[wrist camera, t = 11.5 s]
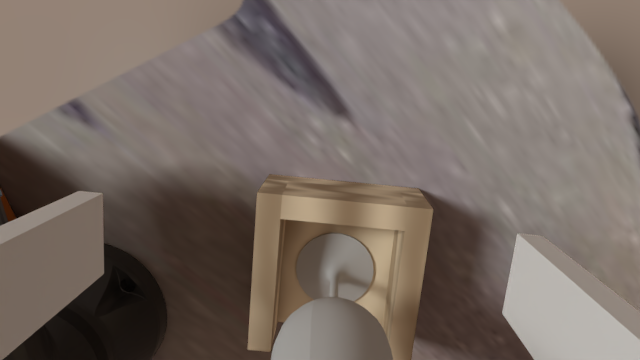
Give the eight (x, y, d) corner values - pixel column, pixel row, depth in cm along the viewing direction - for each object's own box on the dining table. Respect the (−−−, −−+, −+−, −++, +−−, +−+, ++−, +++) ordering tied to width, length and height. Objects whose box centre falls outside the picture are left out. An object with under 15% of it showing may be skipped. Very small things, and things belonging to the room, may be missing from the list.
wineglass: (309, 315, 44) (283, 520, 24) (282, 244, 43) (230, 396, 22) (385, 293, 44) (425, 486, 23) (360, 220, 42) (380, 355, 22)
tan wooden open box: (260, 309, 47) (247, 349, 40) (269, 174, 44) (257, 192, 37) (399, 323, 46) (410, 366, 40) (418, 188, 43) (433, 209, 37)
